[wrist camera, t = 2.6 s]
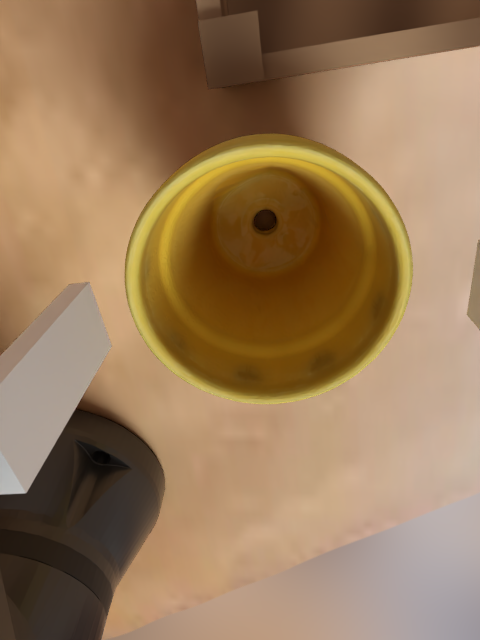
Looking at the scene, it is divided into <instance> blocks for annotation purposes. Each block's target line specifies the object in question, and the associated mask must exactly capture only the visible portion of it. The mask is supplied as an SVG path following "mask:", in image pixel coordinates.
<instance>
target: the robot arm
mask: <svg viewBox="0 0 480 640" xmlns="http://www.w3.org/2000/svg"><path fill="white" fill-rule="evenodd" d="M467 315H468V317H469V318H470V319H471V320H472V321H473V322H474V324H475V325H476V326H477V327H478V328H479V330H480V240H478V245H477V252H476V258H475V265H474V272H473V278H472V285H471V291H470V298H469V305H468V311H467ZM111 347H112V345H111V342H110V339H109V337H108V334H107V331H106V328H105V325H104V322H103V320H102V317H101V314H100V311H99V308H98V305H97V302H96V300H95V297H94V294H93V291H92V288H91V285H90V282H85V283H76V284H69V285H68V286H67V287H66V288H65V289H64V290H63V291H62V292H61V293H60V294H59V295H58V296H57V297H56V298H55V299H54V300H53V302H52V303H51V304H50V305H49V306H48V307H47V308H46V309H45V310H44V311H43V312H42V313H41V314H40V315H39V316H38V317H37V318H36V319H35V320H34V321H33V322H32V323H31V324H30V325H29V326H28V327H27V328H26V330H25V331H24V332H23V333H22V334H21V335H20V336H19V337H18V338H17V339H16V340H15V341H14V342H13V343H12V344H11V345H10V346H9V347H8V348H7V349H6V350H5V351H4V352H3V353H2V354H1V355H0V640H101V638H102V634H103V631H104V627H105V623H106V619H107V615H108V612H109V608H110V605H111V602H112V598H113V595H114V592H115V589H116V587H117V585H118V584H119V582H120V580H121V579H122V577H123V576H124V574H125V572H126V571H127V569H128V568H129V566H130V564H131V563H132V561H133V560H134V558H135V557H136V555H137V553H138V552H139V550H140V548H141V547H142V545H143V543H144V542H145V540H146V538H147V537H148V535H149V534H150V532H151V531H152V529H153V527H154V526H155V524H156V521H157V519H158V516H159V513H160V509H161V504H162V500H163V496H164V491H165V479H164V474H163V471H162V468H161V466H160V464H159V462H158V460H157V459H156V457H155V455H154V454H153V453H152V451H151V450H150V449H149V448H148V447H147V446H146V445H145V444H144V443H143V442H142V441H141V440H140V439H139V438H138V437H136V436H135V435H134V434H132V433H131V432H129V431H128V430H126V429H125V428H123V427H122V426H120V425H118V424H116V423H114V422H112V421H110V420H108V419H105V418H103V417H100V416H97V415H94V414H91V413H88V412H84V411H79V410H75V409H76V407H77V405H78V403H79V402H80V400H81V398H82V397H83V395H84V393H85V391H86V390H87V388H88V386H89V384H90V383H91V381H92V379H93V378H94V376H95V374H96V372H97V371H98V369H99V367H100V366H101V364H102V362H103V360H104V359H105V357H106V355H107V354H108V352H109V350H110V348H111Z"/></svg>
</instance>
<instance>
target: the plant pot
mask: <svg viewBox="0 0 480 640" xmlns="http://www.w3.org/2000/svg"><path fill="white" fill-rule="evenodd" d="M265 209H266V210H271V211H272V212H273V213H274V214H275V215H276V219H277V222H276V225H275V226H274V227H273V228H272V229H270V230H268V231H260V230H258V229H257V228H256V227H255V225H254V218H255V216H256V214H257V213H258V212H259V211H261V210H265ZM412 277H413V262H412V252H411V246H410V241H409V237H408V234H407V231H406V228H405V225H404V223H403V221H402V218H401V216H400V214H399V212H398V210H397V208H396V207H395V205H394V203H393V202H392V200H391V199H390V197H389V196H388V194H387V193H386V192H385V190H384V189H383V188H382V187H381V186H380V184H379V183H378V182H377V181H376V180H375V179H374V178H373V177H372V176H371V175H369V174H368V173H367V172H366V171H365V170H364V169H362V168H361V167H360V166H358V165H357V164H356V163H354V162H353V161H352V160H350V159H349V158H347V157H346V156H344V155H342V154H341V153H339V152H337V151H336V150H334V149H332V148H329V147H327V146H325V145H323V144H321V143H318V142H315V141H312V140H309V139H306V138H302V137H298V136H293V135H286V134H273V133H271V134H254V135H247V136H242V137H238V138H235V139H231V140H228V141H225V142H222V143H220V144H218V145H215V146H213V147H211V148H209V149H207V150H205V151H203V152H202V153H200V154H198V155H197V156H195V157H194V158H192V159H191V160H189V161H188V162H186V163H185V164H184V165H183V166H181V167H180V168H179V169H178V170H177V171H176V172H175V173H174V174H173V175H171V176H170V177H169V178H168V179H167V180H166V181H165V182H164V183H163V184H162V186H161V187H160V188H159V189H158V190H157V191H156V192H155V194H154V195H153V196H152V198H151V199H150V200H149V202H148V203H147V204H146V206H145V207H144V209H143V211H142V212H141V214H140V216H139V218H138V220H137V222H136V224H135V227H134V229H133V232H132V235H131V237H130V241H129V244H128V248H127V254H126V260H125V288H126V295H127V300H128V305H129V308H130V311H131V314H132V317H133V319H134V322H135V324H136V327H137V329H138V331H139V333H140V335H141V336H142V338H143V339H144V341H145V343H146V344H147V346H148V347H149V348H150V350H151V351H152V352H153V354H154V355H155V356H156V357H157V358H158V359H159V360H160V361H161V362H162V363H163V364H164V365H165V366H166V367H167V368H168V369H169V370H170V371H172V372H173V373H174V374H176V375H177V376H178V377H180V378H181V379H183V380H184V381H186V382H187V383H189V384H191V385H193V386H195V387H197V388H198V389H200V390H203V391H205V392H207V393H210V394H213V395H215V396H218V397H222V398H225V399H229V400H233V401H238V402H244V403H253V404H279V403H287V402H294V401H299V400H303V399H307V398H310V397H313V396H317V395H319V394H322V393H324V392H327V391H329V390H331V389H333V388H335V387H337V386H339V385H341V384H342V383H344V382H346V381H347V380H349V379H351V378H352V377H353V376H355V375H356V374H358V373H359V372H360V371H361V370H363V369H364V368H365V367H366V366H367V365H368V364H370V363H371V362H372V361H373V360H374V359H375V358H376V357H377V356H378V354H379V353H380V352H381V351H382V350H383V349H384V347H385V346H386V345H387V343H388V342H389V341H390V339H391V338H392V336H393V334H394V333H395V331H396V329H397V328H398V326H399V323H400V321H401V319H402V317H403V315H404V312H405V309H406V306H407V303H408V299H409V295H410V291H411V286H412Z"/></svg>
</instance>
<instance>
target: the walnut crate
mask: <svg viewBox="0 0 480 640" xmlns="http://www.w3.org/2000/svg"><path fill="white" fill-rule="evenodd" d="M196 5H197V11H198V18H199V21H198V26H199V33H200V39H201V46H202V52H203V59H204V65H205V71H206V78H207V84H208V89H214V88H222V87H228V86H234V85H241V84H247V83H253V82H259V81H266V80H272V79H278V78H284V77H290V76H297V75H303V74H309V73H315V72H321V71H328V70H334V69H340V68H346V67H353V66H359V65H365V64H371V63H377V62H384V61H390V60H396V59H402V58H409V57H415V56H421V55H427V54H433V53H440V52H446V51H452V50H458V49H464V48H471V47H477V46H480V0H196Z"/></svg>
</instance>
